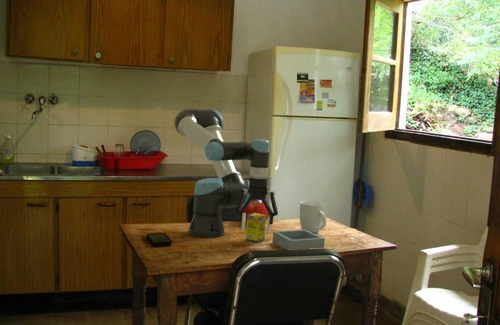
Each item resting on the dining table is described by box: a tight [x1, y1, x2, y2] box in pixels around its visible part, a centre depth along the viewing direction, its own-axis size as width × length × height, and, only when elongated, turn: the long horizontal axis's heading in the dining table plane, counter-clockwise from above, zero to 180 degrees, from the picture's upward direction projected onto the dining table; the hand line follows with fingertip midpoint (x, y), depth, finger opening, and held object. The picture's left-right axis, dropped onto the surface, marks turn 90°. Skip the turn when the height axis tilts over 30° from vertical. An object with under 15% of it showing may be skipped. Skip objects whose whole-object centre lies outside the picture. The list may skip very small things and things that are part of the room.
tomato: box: [238, 200, 270, 223], centre depth 262 cm, size 14×16×10 cm
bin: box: [272, 229, 326, 250], centre depth 223 cm, size 15×15×5 cm
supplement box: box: [245, 213, 267, 244], centre depth 228 cm, size 6×6×11 cm
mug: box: [299, 200, 327, 234], centre depth 247 cm, size 15×11×13 cm
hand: (255, 230), depth 228 cm, fingers open, 10 cm apart
